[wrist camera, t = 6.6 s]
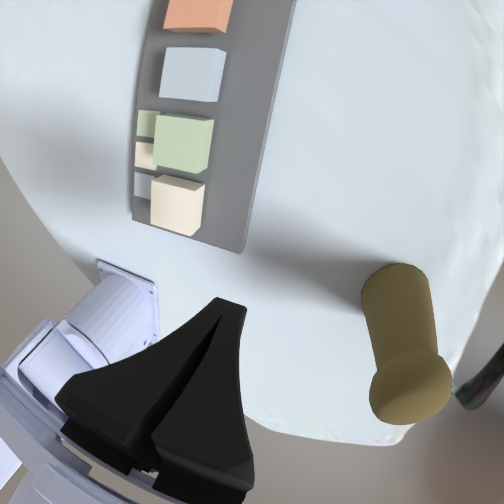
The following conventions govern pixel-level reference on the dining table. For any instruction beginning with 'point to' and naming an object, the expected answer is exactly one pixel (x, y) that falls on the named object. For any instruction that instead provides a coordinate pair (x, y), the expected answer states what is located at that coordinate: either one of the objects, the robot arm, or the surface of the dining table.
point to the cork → (404, 346)
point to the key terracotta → (198, 16)
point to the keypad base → (216, 115)
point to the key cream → (176, 204)
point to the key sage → (182, 142)
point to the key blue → (192, 73)
